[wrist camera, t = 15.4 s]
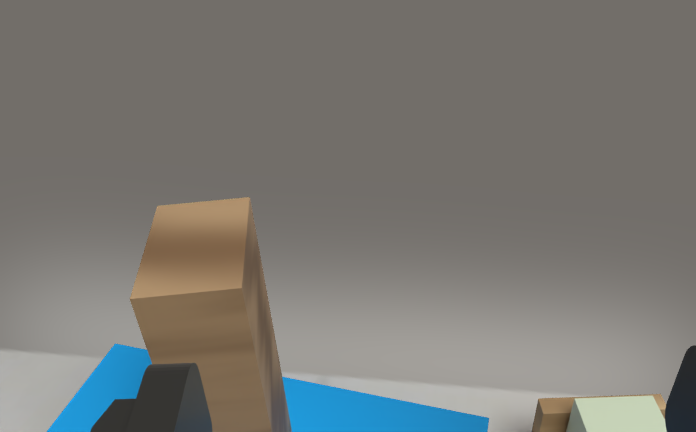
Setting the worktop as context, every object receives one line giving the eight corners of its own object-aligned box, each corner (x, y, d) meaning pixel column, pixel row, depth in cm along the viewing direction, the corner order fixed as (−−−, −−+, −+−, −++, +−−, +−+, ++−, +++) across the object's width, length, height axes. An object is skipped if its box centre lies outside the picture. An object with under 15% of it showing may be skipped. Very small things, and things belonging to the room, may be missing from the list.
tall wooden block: (292, 529, 32) (241, 288, 23) (211, 538, 32) (129, 299, 23) (291, 428, 37) (249, 197, 28) (222, 436, 37) (157, 206, 28)
